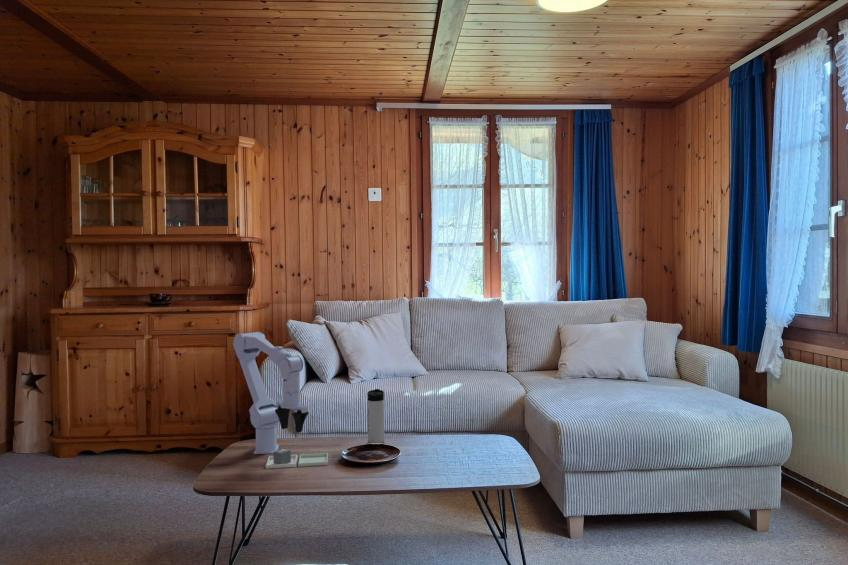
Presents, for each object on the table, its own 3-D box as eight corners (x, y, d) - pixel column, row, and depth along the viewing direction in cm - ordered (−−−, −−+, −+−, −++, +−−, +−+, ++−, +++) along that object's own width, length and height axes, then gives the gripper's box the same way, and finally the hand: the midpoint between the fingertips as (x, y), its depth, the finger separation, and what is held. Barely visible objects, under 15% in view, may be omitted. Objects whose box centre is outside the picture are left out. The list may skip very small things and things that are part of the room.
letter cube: (273, 463, 189) (273, 451, 189) (282, 460, 192) (282, 448, 192) (281, 465, 186) (281, 453, 186) (290, 462, 190) (290, 450, 190)
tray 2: (300, 457, 195) (300, 454, 195) (328, 456, 196) (328, 452, 196) (298, 467, 185) (298, 463, 185) (327, 465, 187) (327, 461, 187)
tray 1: (269, 459, 193) (269, 456, 193) (297, 458, 195) (297, 454, 195) (265, 469, 184) (265, 465, 184) (295, 467, 185) (295, 463, 185)
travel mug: (385, 441, 214) (385, 388, 214) (382, 446, 207) (382, 392, 207) (369, 440, 215) (369, 388, 214) (366, 445, 208) (365, 392, 208)
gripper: (268, 390, 195) (269, 429, 195) (296, 395, 186) (296, 436, 186) (284, 387, 201) (285, 425, 201) (312, 392, 192) (312, 431, 192)
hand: (291, 430), depth 194 cm, fingers open, 7 cm apart
